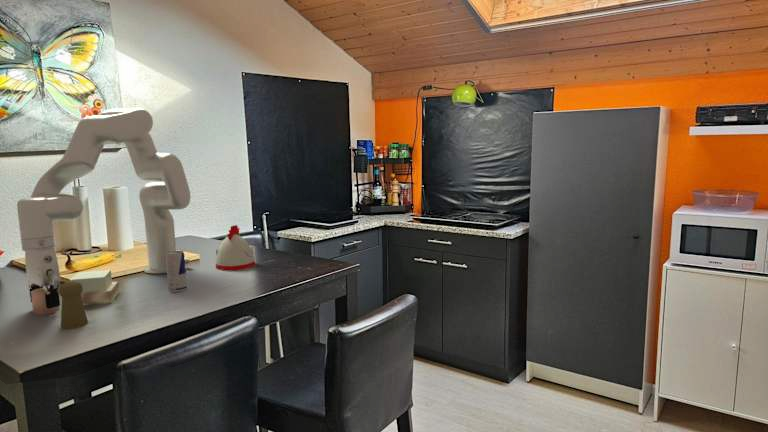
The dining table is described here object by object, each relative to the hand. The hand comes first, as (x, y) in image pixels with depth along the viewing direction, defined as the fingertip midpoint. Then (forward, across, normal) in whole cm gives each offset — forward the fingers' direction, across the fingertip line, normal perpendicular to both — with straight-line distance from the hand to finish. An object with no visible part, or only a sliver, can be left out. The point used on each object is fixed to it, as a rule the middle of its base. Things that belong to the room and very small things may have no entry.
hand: (45, 304), depth 144 cm
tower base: (+2, 0, -13) cm, 13 cm away
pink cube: (+2, 0, 0) cm, 2 cm away
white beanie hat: (+2, -2, -63) cm, 63 cm away
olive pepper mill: (+2, -19, +1) cm, 19 cm away
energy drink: (+2, -13, -32) cm, 35 cm away
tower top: (-2, 0, -13) cm, 13 cm away
